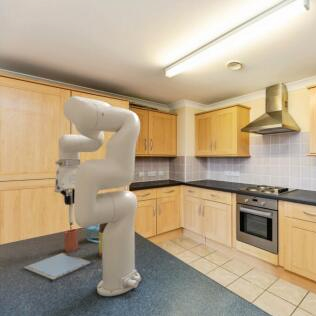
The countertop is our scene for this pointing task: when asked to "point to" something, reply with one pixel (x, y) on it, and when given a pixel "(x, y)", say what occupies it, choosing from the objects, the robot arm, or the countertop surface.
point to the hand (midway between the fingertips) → (70, 203)
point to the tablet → (57, 266)
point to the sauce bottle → (101, 229)
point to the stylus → (71, 209)
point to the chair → (95, 229)
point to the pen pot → (71, 240)
